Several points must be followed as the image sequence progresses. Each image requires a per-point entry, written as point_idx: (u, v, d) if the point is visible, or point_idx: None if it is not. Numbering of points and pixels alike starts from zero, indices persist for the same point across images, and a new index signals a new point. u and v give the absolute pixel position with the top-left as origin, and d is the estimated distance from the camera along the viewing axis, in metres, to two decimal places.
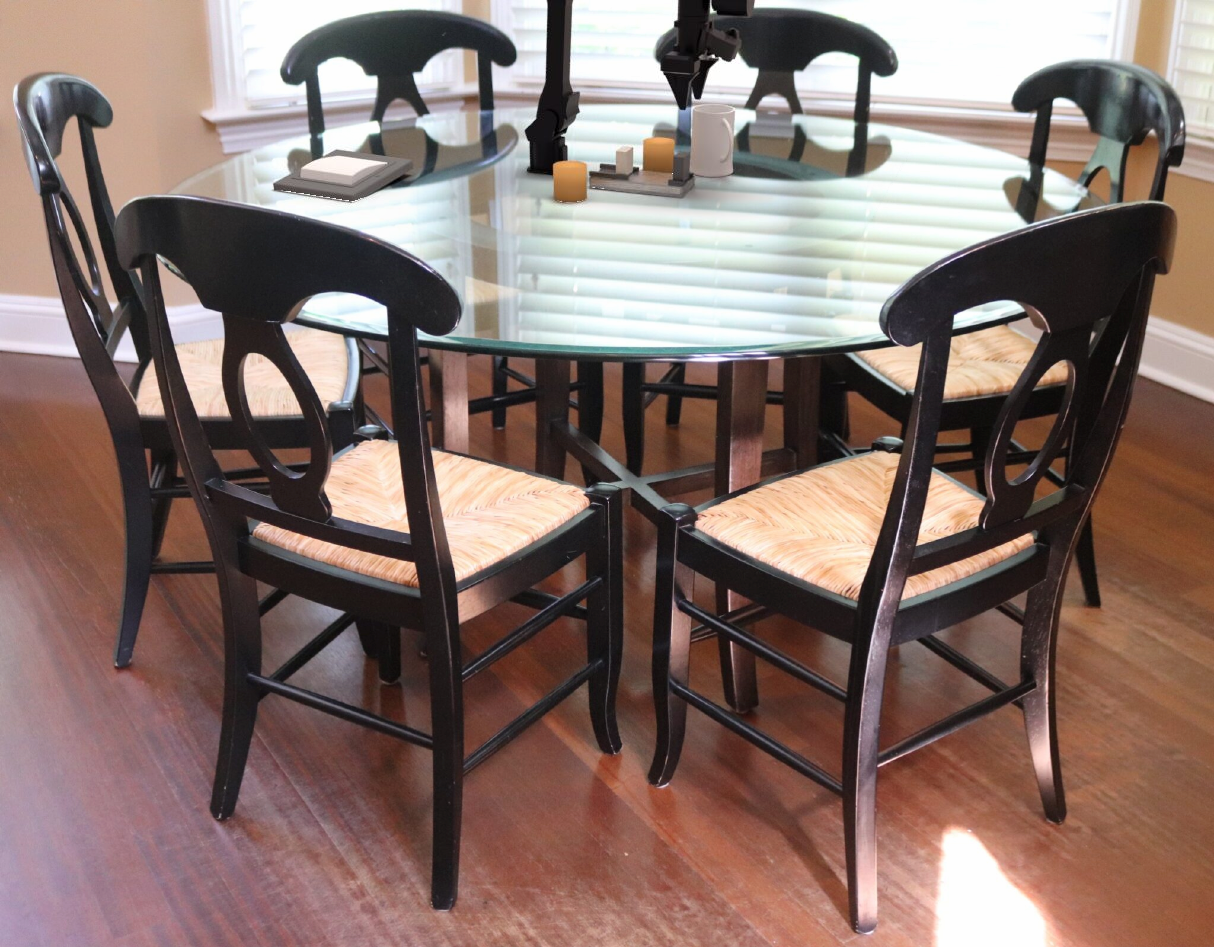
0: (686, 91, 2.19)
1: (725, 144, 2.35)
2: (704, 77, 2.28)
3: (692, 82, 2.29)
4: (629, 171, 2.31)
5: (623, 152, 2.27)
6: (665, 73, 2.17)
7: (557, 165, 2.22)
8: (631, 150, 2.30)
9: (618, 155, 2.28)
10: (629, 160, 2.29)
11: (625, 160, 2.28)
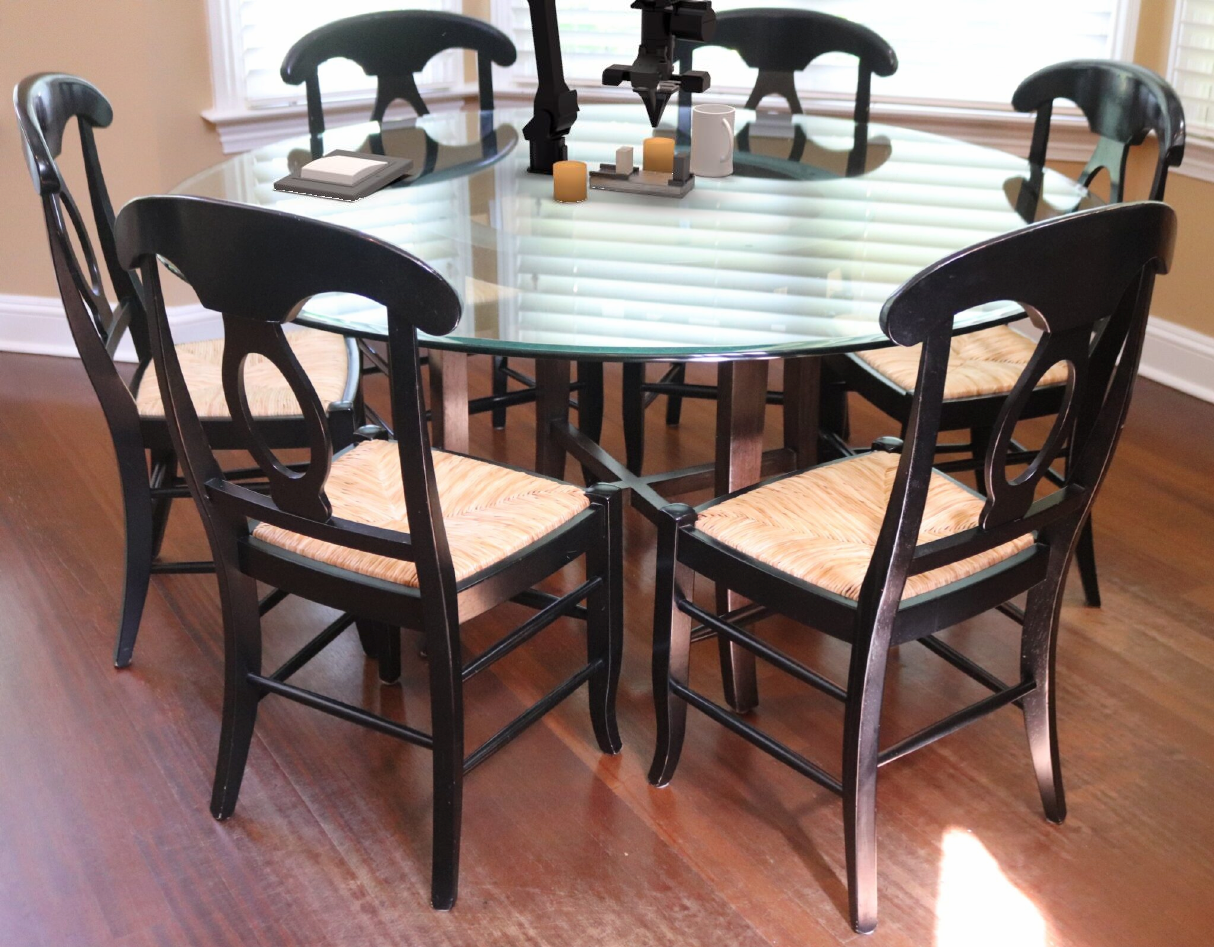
0: (646, 107, 2.23)
1: (725, 144, 2.35)
2: (656, 106, 2.22)
3: None
4: (629, 171, 2.31)
5: (623, 152, 2.27)
6: None
7: (557, 165, 2.22)
8: (631, 150, 2.30)
9: (618, 155, 2.28)
10: (629, 160, 2.29)
11: (625, 160, 2.28)
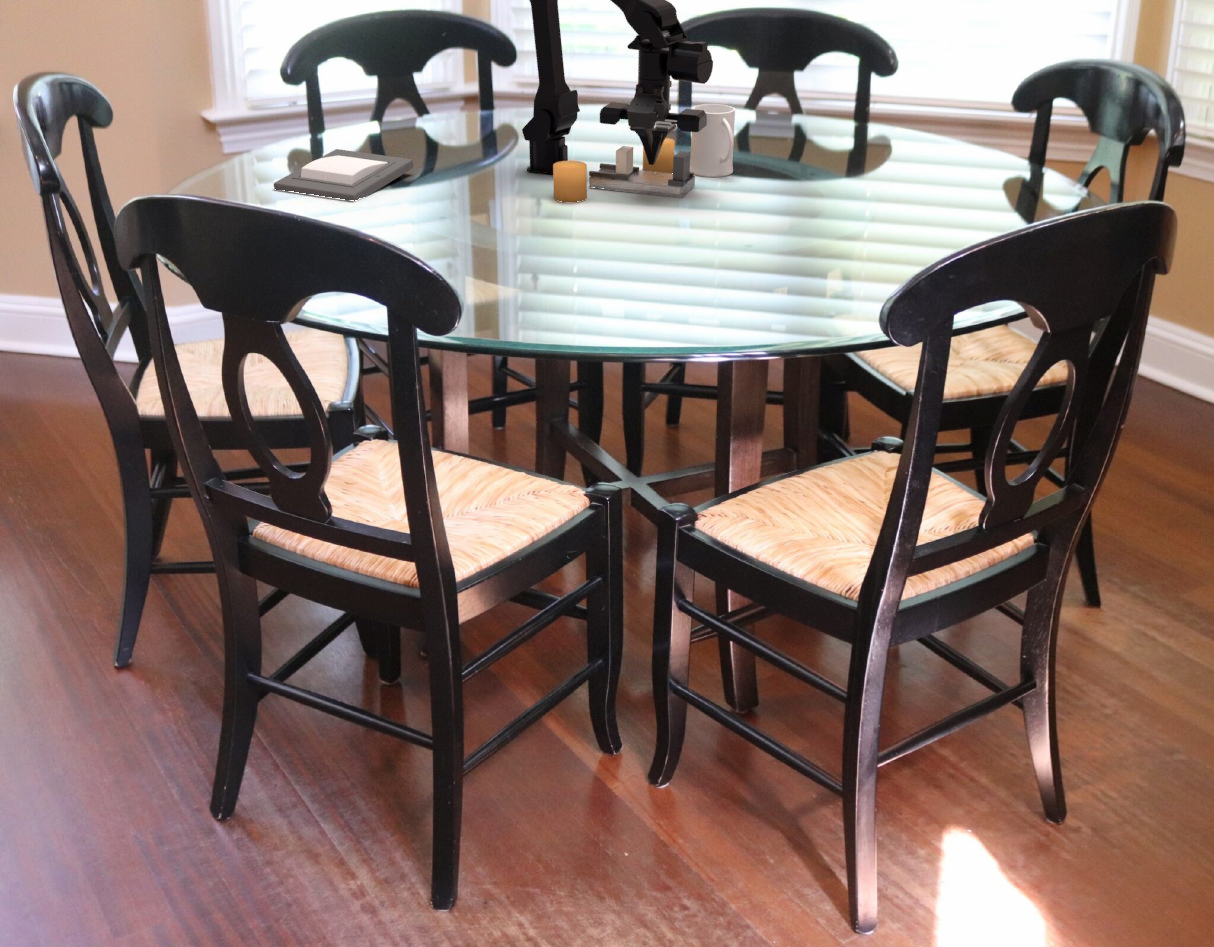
0: (643, 145, 2.27)
1: (725, 144, 2.35)
2: (653, 144, 2.26)
3: None
4: (629, 171, 2.31)
5: (623, 152, 2.27)
6: None
7: (557, 165, 2.22)
8: (631, 150, 2.30)
9: (618, 155, 2.28)
10: (629, 160, 2.29)
11: (625, 160, 2.28)
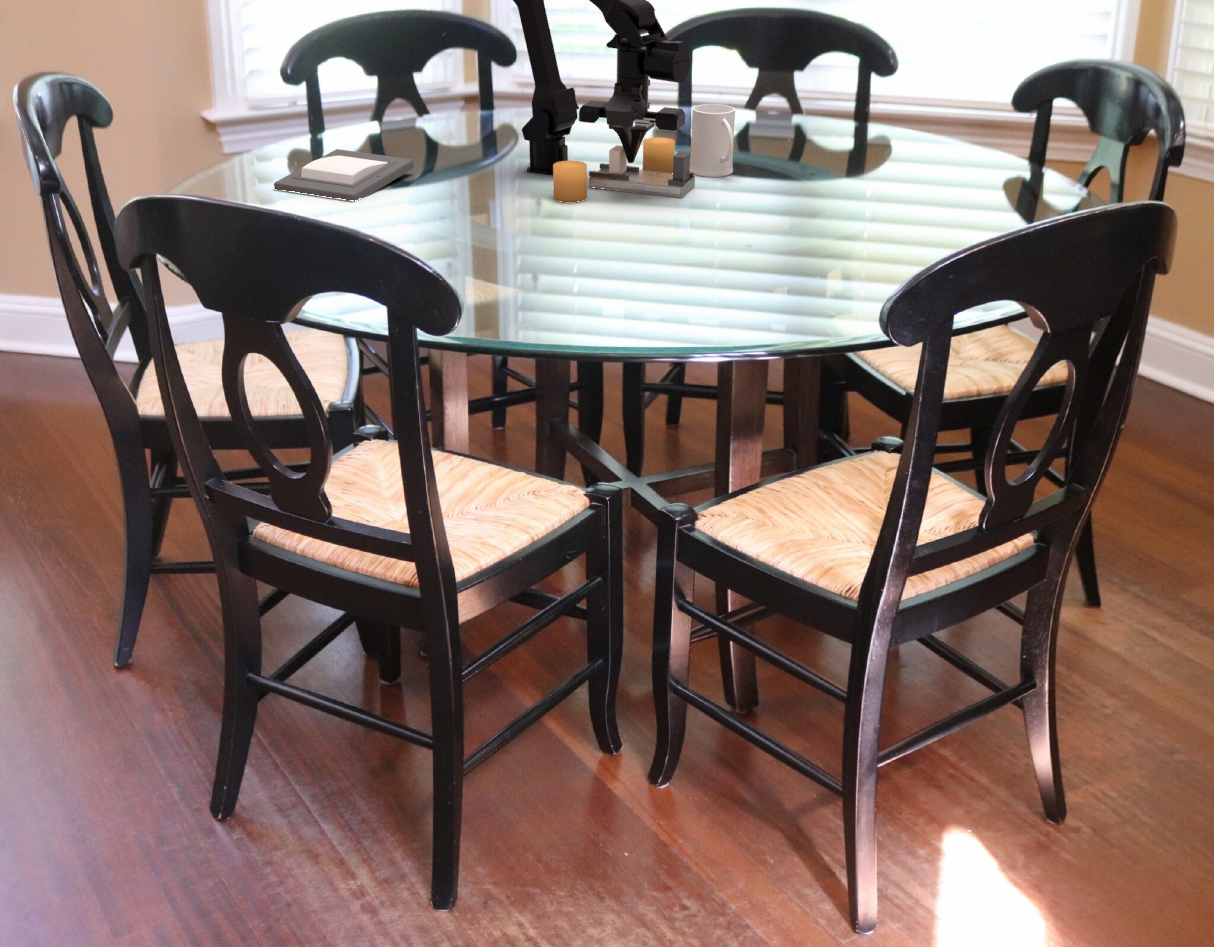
0: None
1: (725, 144, 2.35)
2: (632, 142, 2.27)
3: None
4: (622, 170, 2.31)
5: (616, 151, 2.28)
6: None
7: (557, 165, 2.22)
8: None
9: (611, 154, 2.28)
10: (622, 159, 2.30)
11: (618, 159, 2.28)
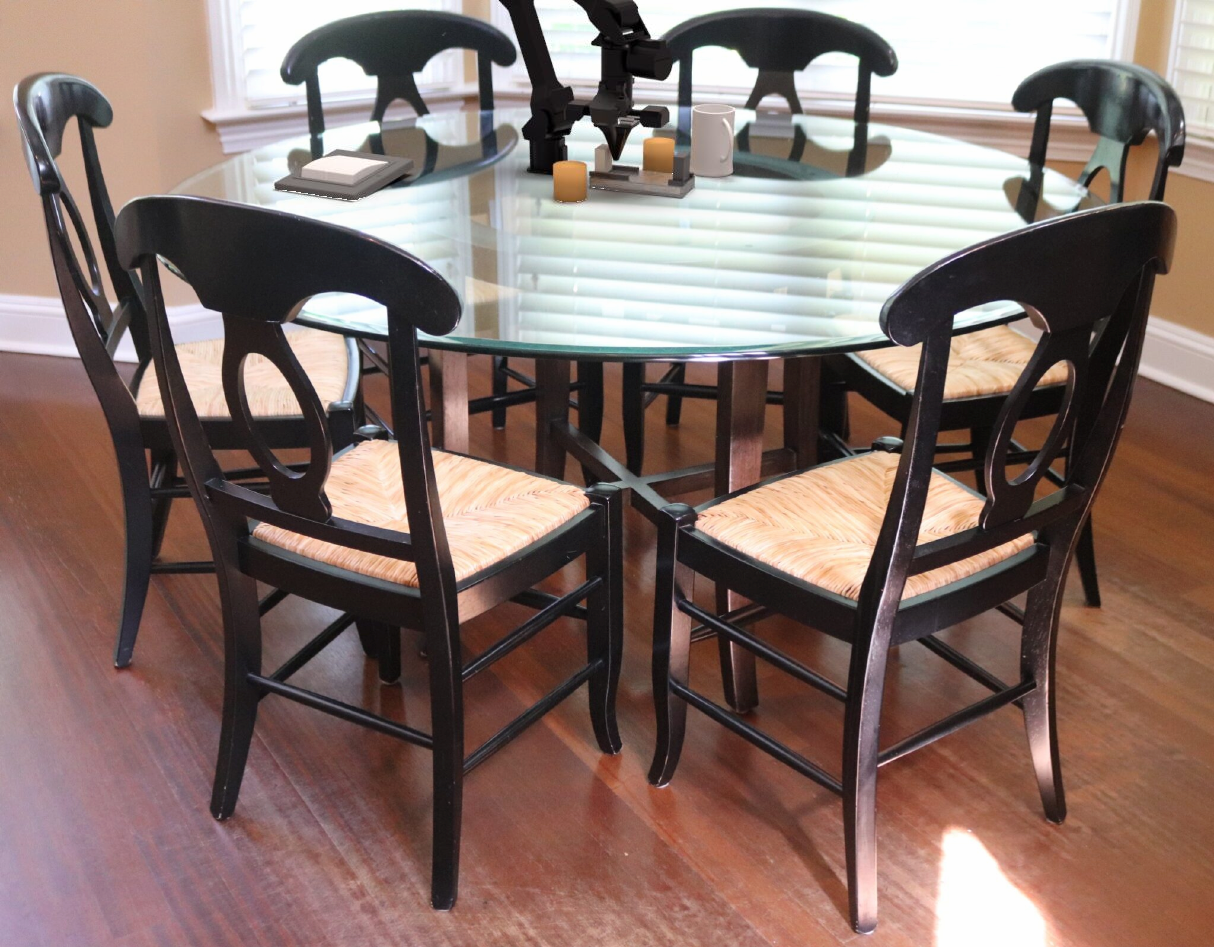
0: (607, 141, 2.29)
1: (725, 144, 2.35)
2: (617, 140, 2.28)
3: None
4: (608, 169, 2.32)
5: (602, 150, 2.29)
6: None
7: (557, 165, 2.22)
8: None
9: (597, 153, 2.29)
10: (608, 158, 2.31)
11: (604, 158, 2.29)
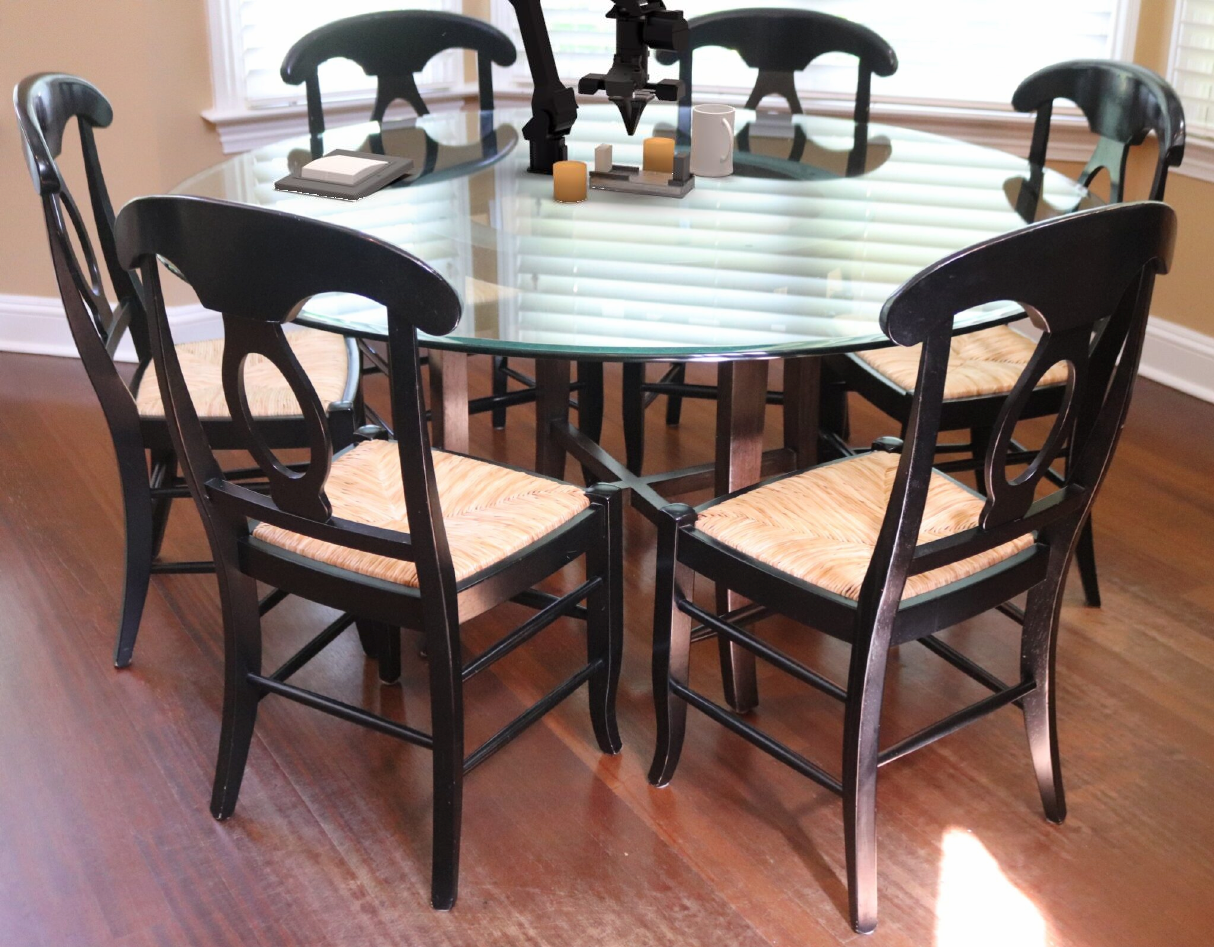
0: (622, 116, 2.25)
1: (725, 144, 2.35)
2: (632, 114, 2.24)
3: None
4: (608, 169, 2.32)
5: (602, 150, 2.29)
6: None
7: (557, 165, 2.22)
8: (610, 147, 2.31)
9: (597, 153, 2.29)
10: (608, 158, 2.31)
11: (604, 158, 2.29)
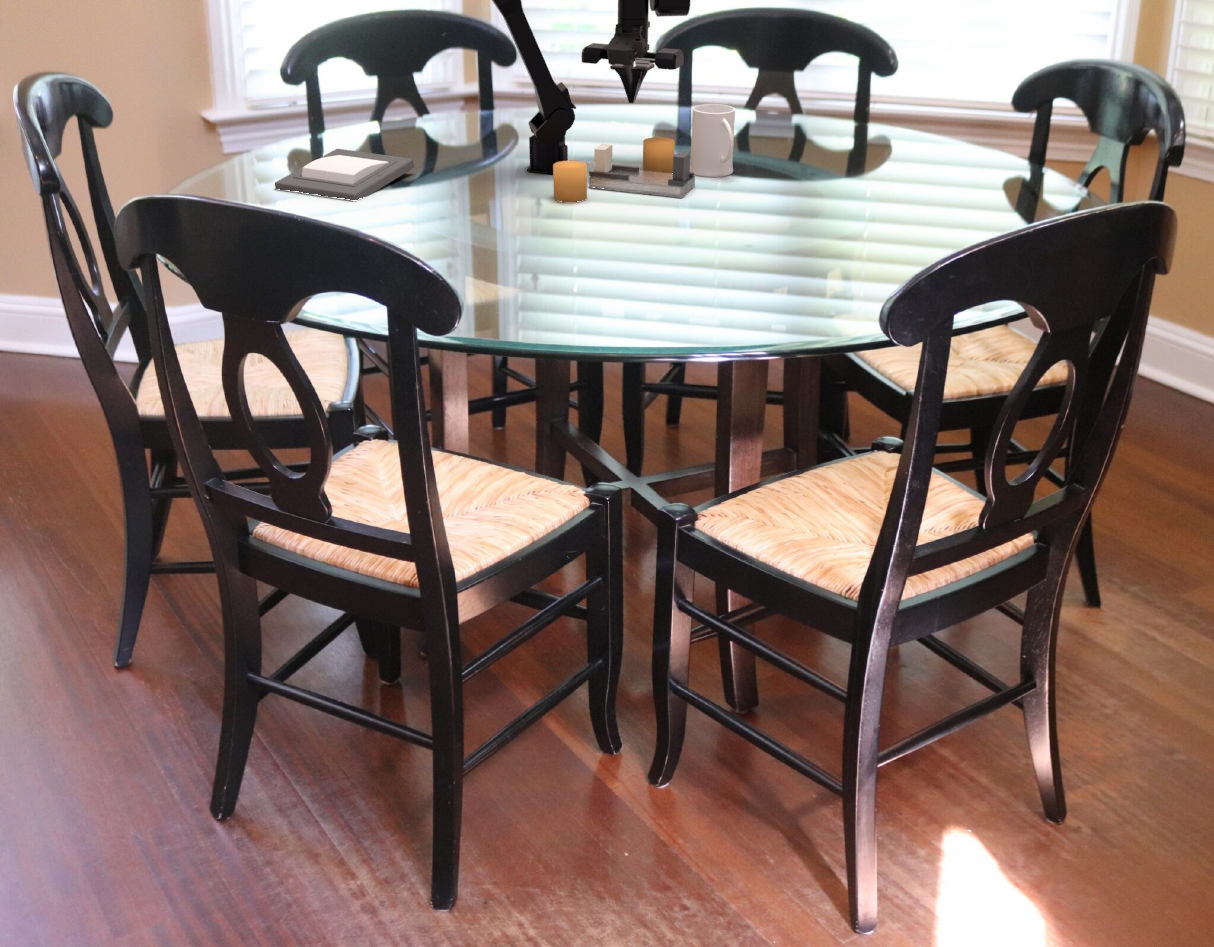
0: (623, 84, 2.37)
1: (725, 144, 2.35)
2: (632, 82, 2.36)
3: None
4: (608, 169, 2.32)
5: (602, 150, 2.29)
6: None
7: (557, 165, 2.22)
8: (610, 147, 2.31)
9: (597, 153, 2.29)
10: (608, 158, 2.31)
11: (604, 158, 2.29)
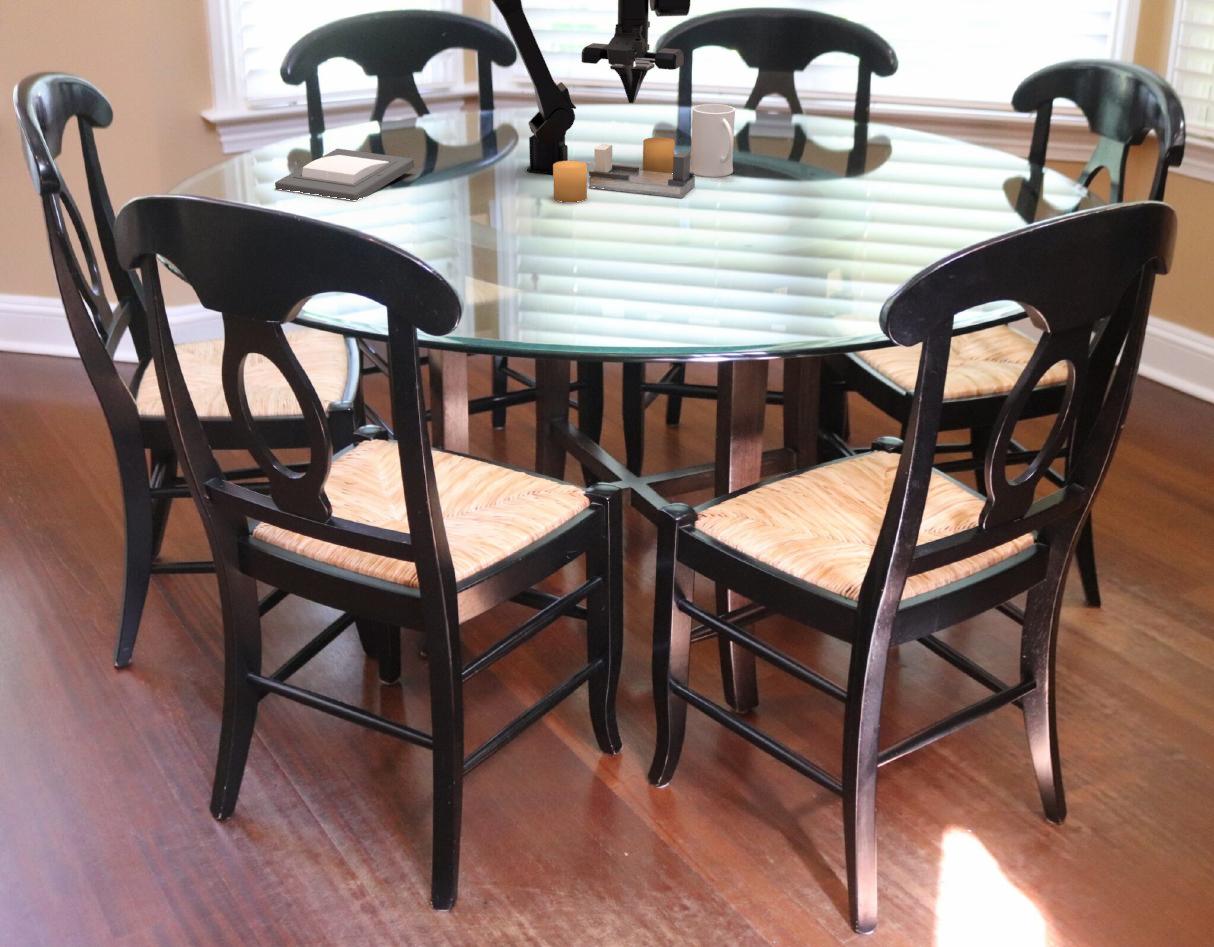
0: (623, 84, 2.37)
1: (725, 144, 2.35)
2: (632, 82, 2.36)
3: None
4: (608, 169, 2.32)
5: (602, 150, 2.29)
6: None
7: (557, 165, 2.22)
8: (610, 147, 2.31)
9: (597, 153, 2.29)
10: (608, 158, 2.31)
11: (604, 158, 2.29)
